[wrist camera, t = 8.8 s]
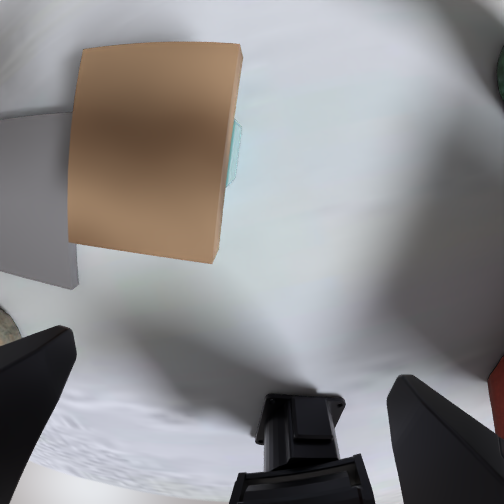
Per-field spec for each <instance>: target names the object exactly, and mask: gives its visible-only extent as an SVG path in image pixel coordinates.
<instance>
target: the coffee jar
mask: <svg viewBox="0 0 504 504" xmlns="http://www.w3.org/2000/svg"><path fill="white" fill-rule="evenodd" d="M497 80H498V85H499V91H500V94H501V97H502V99H503V101H504V46H503V49H502V51H501V54H500V57H499V60H498V68H497Z"/></svg>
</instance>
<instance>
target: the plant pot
mask: <svg viewBox="0 0 504 504" xmlns="http://www.w3.org/2000/svg"><path fill="white" fill-rule="evenodd" d="M488 389H489V397H490V402H491V408H492V414H493V420H494V427H495V433H496V434H497V435H498V437H501V438H502V439H504V356H503V357H502V359H501V360H500V362H499V363H498V365H497V366H496V368H495V369H494V371H493V372H492V373H491V375H490V376H489V379H488Z"/></svg>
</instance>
